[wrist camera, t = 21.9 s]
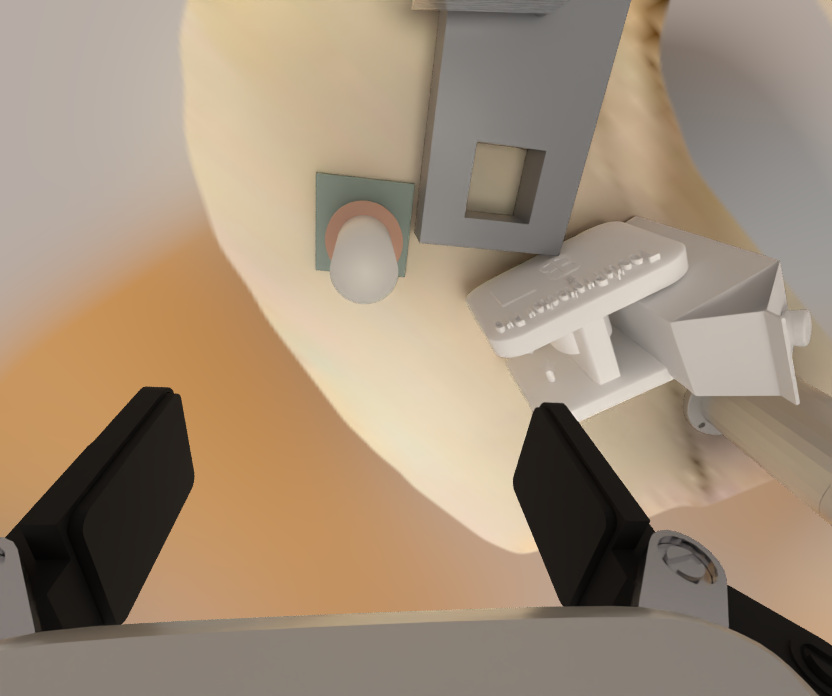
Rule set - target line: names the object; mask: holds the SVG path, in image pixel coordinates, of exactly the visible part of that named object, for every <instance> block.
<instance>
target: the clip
mask: <svg viewBox="0 0 832 696" xmlns="http://www.w3.org/2000/svg"><path fill="white" fill-rule="evenodd" d="M570 1H571V0H412V10H445V11H478V12H511V13H534V14H535V15H536V16H538V17H543V16H545V15H547V14H551V13H553V12H554V11H556V10H557V9H559V8H560V7H562V6H564V5H565V4H567V3H568V2H570Z"/></svg>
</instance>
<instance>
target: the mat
mask: <svg viewBox="0 0 832 696" xmlns="http://www.w3.org/2000/svg"><path fill="white" fill-rule="evenodd" d="M414 187H415V184H412V183H404V182H395V181H387V180H378V179H369V178H361V177H352V176H344V175H335V174H326V173H318V172H317V173H316V270H321V271H330V264H331V260H330V258H329V256H328V253H327V250H326V246H325V233H326V229H327V226H328V224H329V221H330V219H331V218H332V216H333V215H334V213H335V212H336V211H337V210H338V209H340V208H341V207H342V206H344V205H346V204H348V203H350V202H354V201H360V200H365V201H372V202H375V203H378V204H380V205H382V206H384V207H385V208H386V209H388V210H389V211H390V212H391V213H392V214H393V215H394V217H395V218H396V220H397V222H398V224H399V226H400V229H401V231H402V236H403V248H402V253H401V256H400V258H399V260H398V262H397V265H398V277H405V270H406V261H407V251H408V242H409V233H410V224H411V215H412V205H413V196H414Z"/></svg>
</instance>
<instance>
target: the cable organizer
mask: <svg viewBox="0 0 832 696" xmlns="http://www.w3.org/2000/svg"><path fill="white" fill-rule="evenodd" d="M688 267H689V266H688V260H687V253H686V247H685V245H684V244H683V243H681V242H678V241H675V240H672V239H670V238H667V237H664V236H661V235H658V234H655V233H652V232H650V231H647V230H644V229H641V228H638V227H635V226H632V225H630V224H627V223H624V222H620V221H613V222H608V223H604V224H600V225H597V226H595V227H592V228H590V229H588V230H586V231H584V232H582V233H580V234H578V235H576V236H574V237H572V238H570V239H568V240H566V241H564V242H563V244H562V247H561V251H560V255H559V256H553V255H543V254H539V255H537V256H535V257H533V258H531V259H529V260H527V261H525V262H523V263H521V264H519V265H517V266H515V267H514V268H512V269H510V270H508V271H506V272H504V273H502V274H500V275H498V276H496V277H494V278H492V279H490V280H488V281H486V282H484V283H482V284H481V285H479V286H478V287H476V288H475V289H474V290H472V291H471V292H470V293H469V294H468V296H467V297H466V303H467V305H468V307H469V309H470V311H471V313H472V315H473V317H474V319H475V320H476V322H477V324H478V325H479V327H480V329H481V330H482V332H483V334H484V335H485V337H486V339H487V341H488V342H489V344H490V346H491V347H492V349H493V351H494V352H495V354H496V355H498V356H499V357H504V358H507V360H506V366H507V368H508V370H509V373H510V375H511V377H512V378H513V380H514V382H515V383H516V385H517V387H518V388H519V390H520V392H521V393H522V395H523V397H524V398H525V400H526V402H527V403H528V405H529V407H530V408H531V410H532V412H533V411H534V409H535V408H536V407H540V405H541V404H542V403H544V402H551V403H564V404H565V405H566V406H567V407H568V409H569V410H570V411H571V413H572V414H573V416H574V417H575V418H576V420H577V421H578V422H580V421H582V420H584V419H586V418H589V417H591V416H593V415H595V414H598V413H600V412H602V411H604V410H606V409H609V408H611V407H613V406H615V405H618V404H620V403H622V402H624V401H626V400H629V399H631V398H633V397H635V396H638V395H640V394H642V393H644V392H646V391H649V390H651V389H653V388H655V387H658V386H660V385H662V384H664V383H666V382H669V381H671V380H673V379H674V378H673V377H672V376H671V375H670V374H669V372H668V370H667V368H666V367H665V366H664V365H663V364H662V363H661V362H660V361H658V360H657V359H656V358H655V357H654V356H652V355H651V354H650V353H649V352H647V351H646V350H645V349H643V348H642V347H641V346H640V345H638V344H637V343H636V342H634V341H633V340H632V339H631V338H629V337H628V336H627V335H625V334H624V333H623V332H622V331H620V330H619V329H618V328H616V327H615V326H614V325H613V324H611V323H610V320H609V316H608V315H609V314H611V313H613V312H615V311H617V310H619V309H622V308H624V307H626V306H628V305H630V304H632V303H634V302H636V301H638V300H640V299H642V298H644V297H646V296H649V295H651V294H653V293H655V292H657V291H659V290H661V289H663V288H665V287H667V286H669V285H671V284H673V283H675V282H676V281H678V280H679V279H680V278H681V277H683V276H684V275H685V273H686V272H687V270H688Z"/></svg>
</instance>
